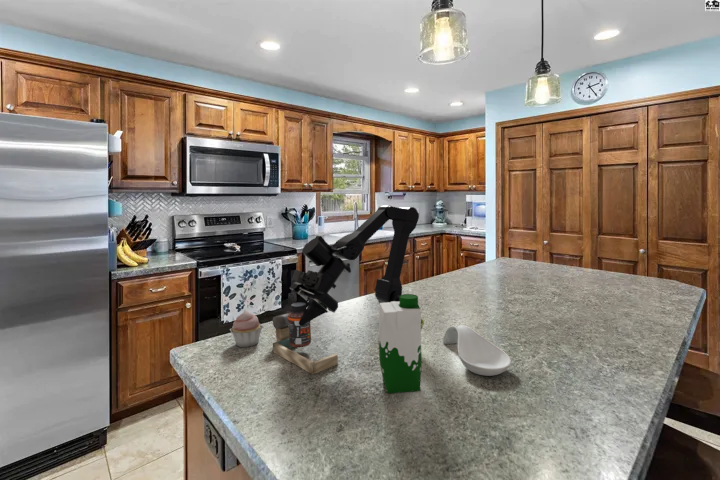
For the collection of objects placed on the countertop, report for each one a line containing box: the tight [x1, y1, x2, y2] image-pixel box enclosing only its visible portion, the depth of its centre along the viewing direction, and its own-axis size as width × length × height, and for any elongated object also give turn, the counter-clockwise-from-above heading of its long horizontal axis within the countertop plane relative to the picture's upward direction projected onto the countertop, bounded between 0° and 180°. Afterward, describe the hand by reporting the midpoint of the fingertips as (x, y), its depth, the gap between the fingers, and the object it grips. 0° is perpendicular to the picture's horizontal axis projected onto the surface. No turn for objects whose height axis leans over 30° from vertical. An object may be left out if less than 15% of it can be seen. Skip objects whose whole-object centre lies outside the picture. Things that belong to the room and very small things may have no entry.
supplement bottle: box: [288, 302, 312, 348], centre depth 101 cm, size 6×6×11 cm
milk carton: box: [378, 293, 422, 394], centre depth 81 cm, size 9×9×20 cm
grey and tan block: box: [272, 311, 290, 342], centre depth 107 cm, size 4×5×9 cm
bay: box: [272, 338, 339, 375], centre depth 97 cm, size 19×8×2 cm, turn 42°
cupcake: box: [229, 309, 264, 348], centre depth 108 cm, size 9×9×10 cm
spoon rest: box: [442, 324, 512, 377], centre depth 93 cm, size 24×12×7 cm, turn 13°
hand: (294, 321), depth 100 cm, fingers closed on supplement bottle, 6 cm apart
